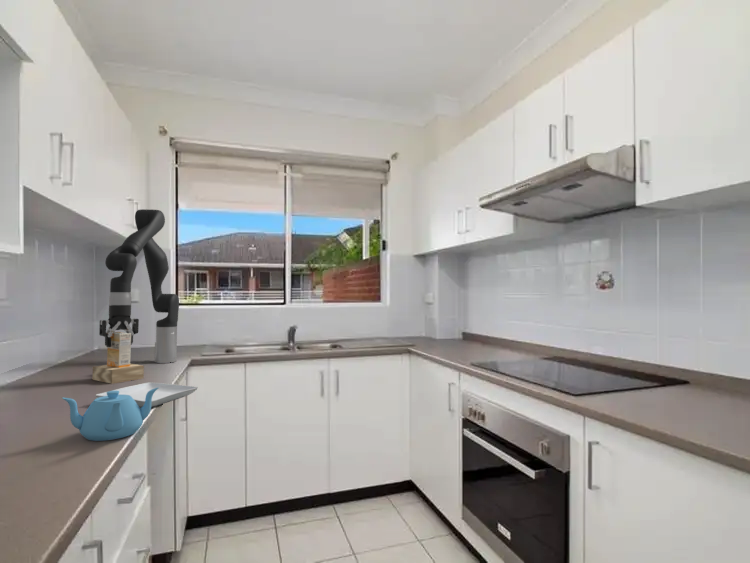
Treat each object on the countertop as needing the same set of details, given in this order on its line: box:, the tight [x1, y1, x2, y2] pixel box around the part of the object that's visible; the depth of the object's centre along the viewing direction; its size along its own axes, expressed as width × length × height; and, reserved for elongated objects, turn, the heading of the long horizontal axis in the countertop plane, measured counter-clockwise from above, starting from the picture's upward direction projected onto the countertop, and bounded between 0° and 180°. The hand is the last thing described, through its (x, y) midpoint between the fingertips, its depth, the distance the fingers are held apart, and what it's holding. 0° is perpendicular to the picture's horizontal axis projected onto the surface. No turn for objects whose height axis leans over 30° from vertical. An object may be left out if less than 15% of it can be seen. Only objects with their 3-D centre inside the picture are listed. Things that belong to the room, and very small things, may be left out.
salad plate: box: [95, 382, 198, 408], centre depth 136 cm, size 21×21×3 cm
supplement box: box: [106, 331, 132, 368], centre depth 168 cm, size 8×5×13 cm, turn 61°
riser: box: [91, 363, 145, 385], centre depth 167 cm, size 14×12×5 cm
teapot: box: [61, 387, 159, 442], centre depth 103 cm, size 15×15×10 cm
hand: (119, 345), depth 168 cm, fingers open, 7 cm apart
